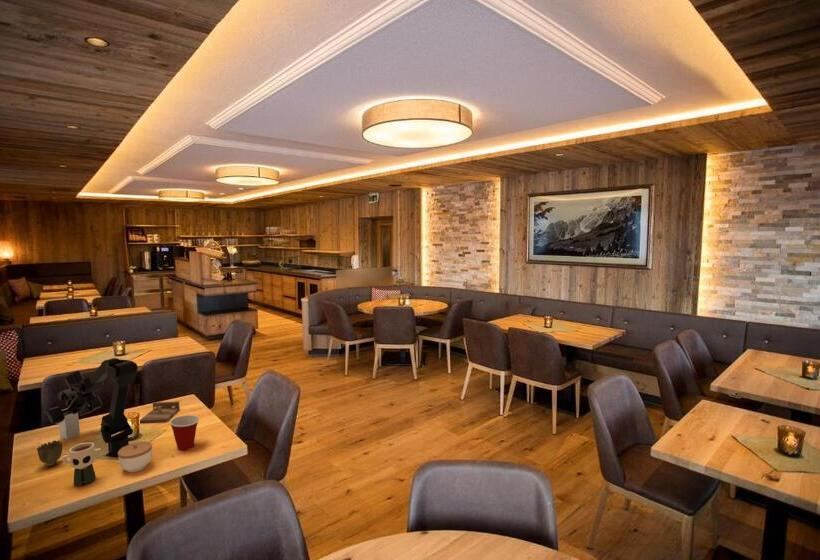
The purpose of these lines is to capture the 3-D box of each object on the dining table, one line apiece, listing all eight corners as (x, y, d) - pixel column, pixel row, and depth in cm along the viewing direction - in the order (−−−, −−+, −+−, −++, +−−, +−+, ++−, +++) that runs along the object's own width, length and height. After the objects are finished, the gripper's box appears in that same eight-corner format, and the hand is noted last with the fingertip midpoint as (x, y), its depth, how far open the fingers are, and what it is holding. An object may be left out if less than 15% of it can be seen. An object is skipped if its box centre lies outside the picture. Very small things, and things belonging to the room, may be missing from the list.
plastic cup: (198, 451, 169) (196, 423, 168) (168, 455, 166) (166, 426, 165) (203, 439, 180) (201, 412, 179) (175, 442, 177) (173, 415, 175)
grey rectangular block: (80, 435, 184) (77, 408, 183) (66, 440, 179) (64, 413, 178) (73, 433, 186) (71, 407, 185) (60, 437, 181) (57, 411, 180)
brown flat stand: (166, 422, 196) (165, 412, 196) (139, 423, 195) (138, 413, 195) (179, 410, 210) (179, 400, 210) (154, 411, 209) (153, 401, 208)
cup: (34, 467, 158) (32, 447, 157) (56, 458, 165) (55, 438, 164) (46, 471, 155) (44, 451, 154) (68, 462, 162) (66, 442, 161)
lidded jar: (129, 461, 162) (127, 438, 161) (158, 459, 163) (156, 436, 163) (112, 477, 152) (110, 452, 151) (144, 475, 153) (142, 450, 152)
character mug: (63, 491, 143) (59, 455, 142) (67, 481, 149) (64, 446, 148) (102, 482, 148) (99, 447, 147) (105, 472, 155) (102, 439, 153)
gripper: (96, 377, 186) (83, 396, 192) (46, 391, 169) (33, 412, 175) (108, 396, 184) (95, 416, 190) (59, 413, 167) (46, 434, 173)
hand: (68, 419), depth 182 cm, fingers open, 9 cm apart
